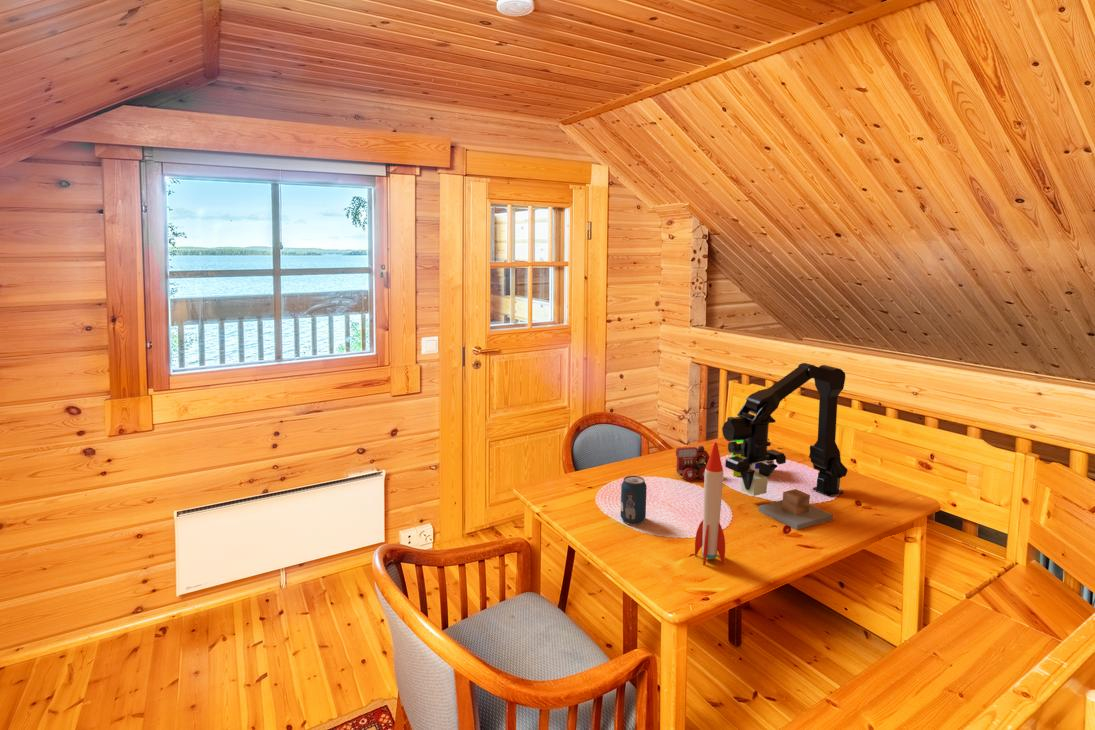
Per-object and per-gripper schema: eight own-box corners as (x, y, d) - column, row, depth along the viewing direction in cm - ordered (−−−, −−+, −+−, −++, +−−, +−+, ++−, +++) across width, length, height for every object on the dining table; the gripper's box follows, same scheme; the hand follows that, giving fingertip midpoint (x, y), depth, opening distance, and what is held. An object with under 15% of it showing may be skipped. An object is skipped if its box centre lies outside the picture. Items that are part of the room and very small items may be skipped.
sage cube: (753, 487, 192) (755, 471, 191) (766, 492, 188) (767, 476, 187) (741, 490, 190) (742, 474, 189) (753, 495, 186) (754, 479, 185)
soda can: (640, 514, 181) (642, 474, 179) (648, 524, 175) (650, 483, 173) (617, 515, 180) (618, 475, 178) (624, 526, 174) (625, 484, 171)
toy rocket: (694, 555, 158) (698, 439, 152) (715, 553, 159) (720, 437, 153) (703, 566, 152) (708, 446, 147) (725, 564, 153) (730, 444, 148)
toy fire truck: (715, 479, 208) (717, 449, 206) (679, 481, 206) (680, 451, 204) (706, 472, 215) (708, 442, 213) (671, 474, 213) (672, 444, 211)
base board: (793, 501, 190) (793, 497, 190) (832, 519, 178) (833, 514, 178) (758, 510, 184) (758, 505, 184) (796, 529, 172) (797, 524, 171)
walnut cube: (794, 505, 184) (795, 488, 183) (808, 511, 180) (810, 495, 179) (782, 508, 182) (783, 492, 181) (795, 515, 177) (797, 498, 176)
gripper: (760, 426, 197) (757, 474, 200) (713, 434, 189) (711, 484, 192) (788, 436, 187) (785, 486, 190) (740, 445, 179) (737, 497, 182)
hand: (754, 488), depth 189 cm, fingers closed on sage cube, 5 cm apart
